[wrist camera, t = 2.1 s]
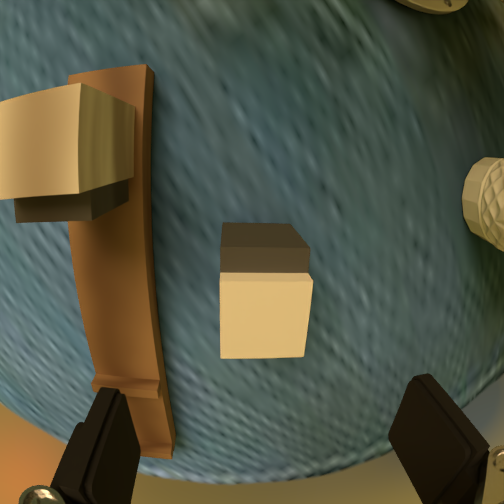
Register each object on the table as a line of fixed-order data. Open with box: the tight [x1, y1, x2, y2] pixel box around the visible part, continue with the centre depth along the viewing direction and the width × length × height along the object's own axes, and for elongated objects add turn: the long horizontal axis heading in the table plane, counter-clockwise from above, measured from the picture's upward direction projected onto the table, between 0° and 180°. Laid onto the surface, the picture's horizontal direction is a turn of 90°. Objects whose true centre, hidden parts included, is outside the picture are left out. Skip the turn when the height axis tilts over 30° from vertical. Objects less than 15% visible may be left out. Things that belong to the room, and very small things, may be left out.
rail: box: [0, 64, 176, 459], centre depth 16 cm, size 5×29×9 cm, turn 178°
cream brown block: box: [220, 223, 313, 358], centre depth 17 cm, size 4×5×7 cm
